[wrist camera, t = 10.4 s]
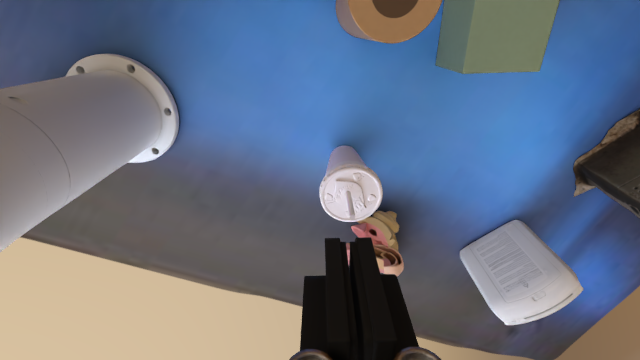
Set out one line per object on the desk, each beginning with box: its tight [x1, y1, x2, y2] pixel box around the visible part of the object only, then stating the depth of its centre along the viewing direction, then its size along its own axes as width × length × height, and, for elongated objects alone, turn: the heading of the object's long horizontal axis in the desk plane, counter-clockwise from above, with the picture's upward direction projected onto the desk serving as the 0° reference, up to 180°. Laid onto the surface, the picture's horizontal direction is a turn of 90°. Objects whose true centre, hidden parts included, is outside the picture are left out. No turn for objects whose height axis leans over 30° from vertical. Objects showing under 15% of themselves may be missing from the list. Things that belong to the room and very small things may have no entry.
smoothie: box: [319, 145, 383, 222], centre depth 32 cm, size 6×6×14 cm
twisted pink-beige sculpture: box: [346, 211, 404, 277], centre depth 41 cm, size 9×10×10 cm
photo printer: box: [460, 220, 583, 325], centre depth 39 cm, size 10×4×12 cm, turn 132°
